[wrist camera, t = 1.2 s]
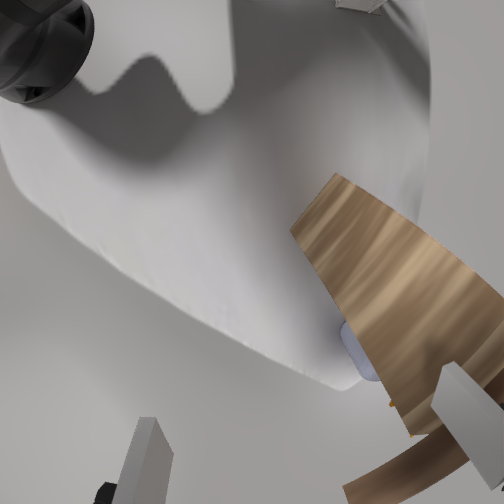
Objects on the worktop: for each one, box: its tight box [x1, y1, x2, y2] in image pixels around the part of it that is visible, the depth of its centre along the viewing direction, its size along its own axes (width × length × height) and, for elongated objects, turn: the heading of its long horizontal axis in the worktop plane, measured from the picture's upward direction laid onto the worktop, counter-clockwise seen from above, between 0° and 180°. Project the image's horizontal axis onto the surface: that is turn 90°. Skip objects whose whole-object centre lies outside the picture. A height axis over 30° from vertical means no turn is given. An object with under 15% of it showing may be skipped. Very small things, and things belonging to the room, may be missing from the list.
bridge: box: [290, 173, 504, 436], centre depth 27 cm, size 12×10×30 cm
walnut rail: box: [343, 368, 504, 504], centre depth 13 cm, size 4×26×4 cm, turn 143°
